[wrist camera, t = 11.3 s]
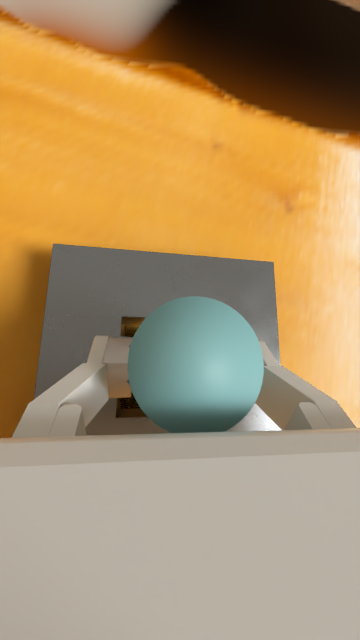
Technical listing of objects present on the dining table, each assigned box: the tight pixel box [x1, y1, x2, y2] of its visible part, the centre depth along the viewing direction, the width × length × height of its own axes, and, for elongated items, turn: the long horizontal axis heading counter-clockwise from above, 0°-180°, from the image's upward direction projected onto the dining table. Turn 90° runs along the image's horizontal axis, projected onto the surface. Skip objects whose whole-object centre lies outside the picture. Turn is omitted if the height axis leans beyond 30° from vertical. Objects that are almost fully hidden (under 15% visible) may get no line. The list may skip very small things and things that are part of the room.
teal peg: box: [127, 296, 264, 433], centre depth 11 cm, size 4×4×8 cm
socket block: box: [34, 244, 281, 436], centre depth 16 cm, size 14×14×3 cm
